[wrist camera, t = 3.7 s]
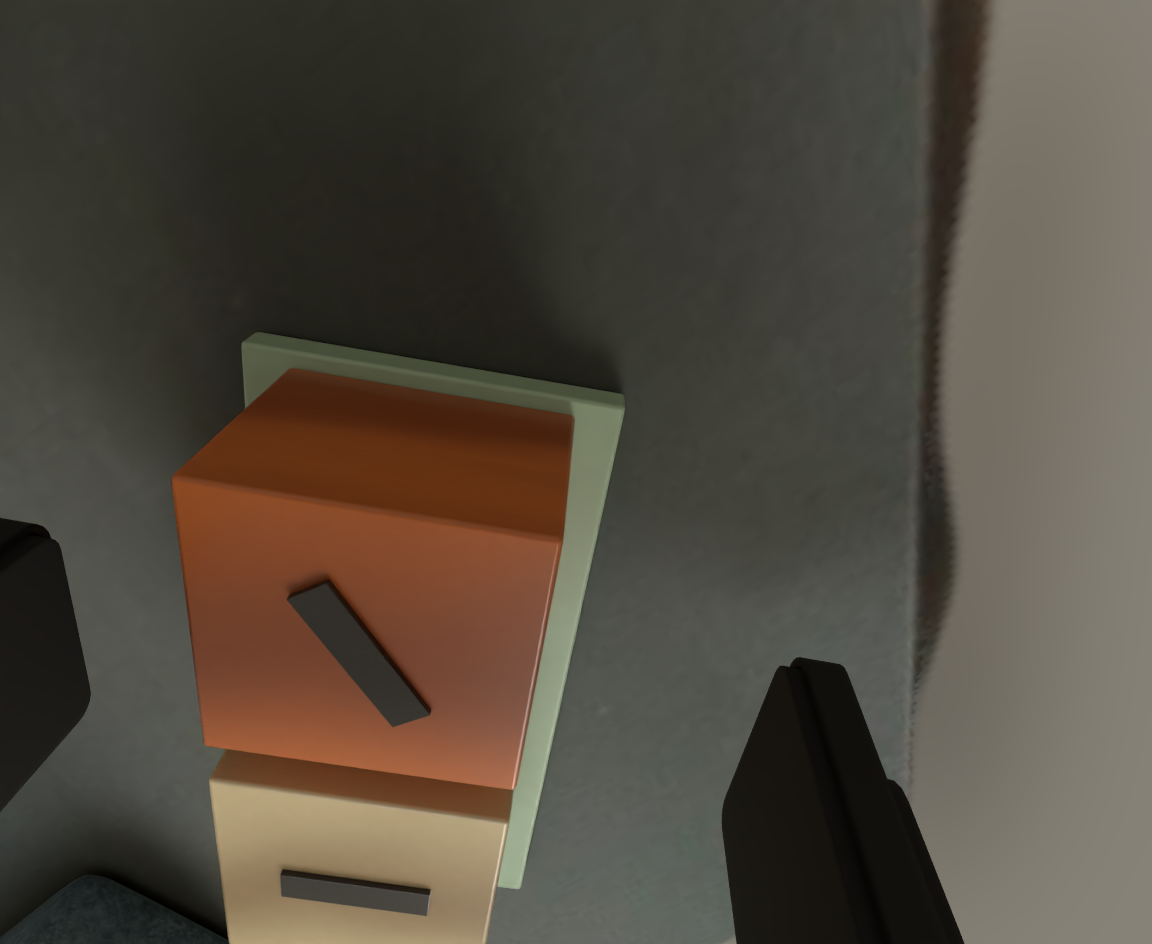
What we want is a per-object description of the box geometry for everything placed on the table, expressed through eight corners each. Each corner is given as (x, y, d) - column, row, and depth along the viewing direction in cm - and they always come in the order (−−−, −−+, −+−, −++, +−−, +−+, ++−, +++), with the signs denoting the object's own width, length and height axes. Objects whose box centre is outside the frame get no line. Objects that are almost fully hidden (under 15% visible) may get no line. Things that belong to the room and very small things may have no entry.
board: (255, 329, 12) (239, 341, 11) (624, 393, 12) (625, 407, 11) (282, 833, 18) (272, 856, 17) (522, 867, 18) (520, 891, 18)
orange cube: (289, 365, 11) (162, 480, 8) (576, 414, 11) (563, 544, 8) (295, 592, 13) (198, 753, 10) (536, 630, 14) (514, 799, 10)
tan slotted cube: (296, 621, 14) (202, 785, 10) (531, 657, 14) (508, 829, 11) (301, 777, 16) (224, 952, 13) (504, 806, 16) (479, 986, 13)
